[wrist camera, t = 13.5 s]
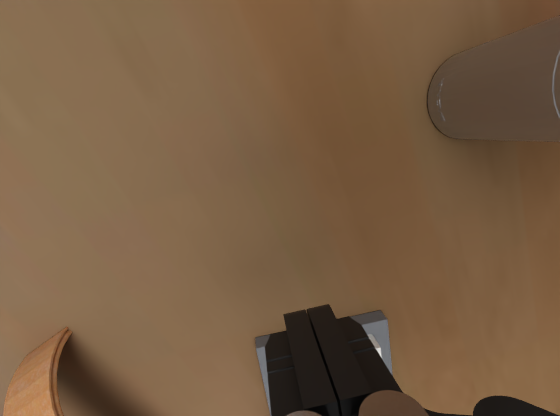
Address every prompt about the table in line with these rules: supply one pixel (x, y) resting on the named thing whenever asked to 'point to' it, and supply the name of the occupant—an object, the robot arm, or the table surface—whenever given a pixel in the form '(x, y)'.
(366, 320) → the socket plate
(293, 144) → the table surface
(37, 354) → the arch
